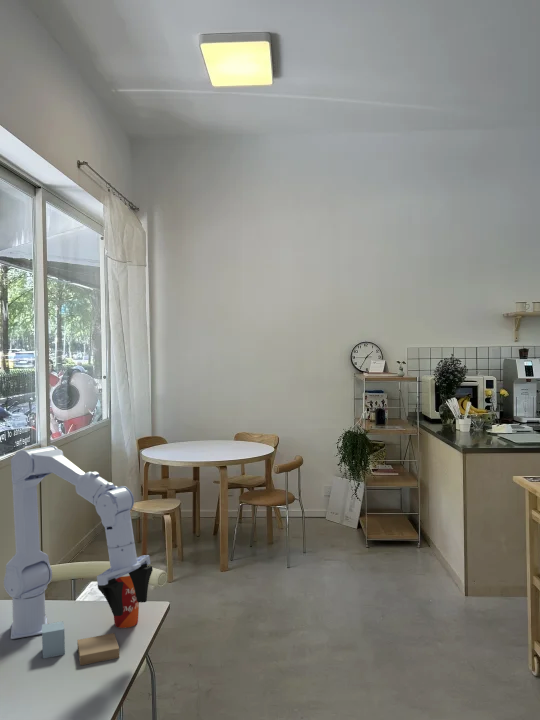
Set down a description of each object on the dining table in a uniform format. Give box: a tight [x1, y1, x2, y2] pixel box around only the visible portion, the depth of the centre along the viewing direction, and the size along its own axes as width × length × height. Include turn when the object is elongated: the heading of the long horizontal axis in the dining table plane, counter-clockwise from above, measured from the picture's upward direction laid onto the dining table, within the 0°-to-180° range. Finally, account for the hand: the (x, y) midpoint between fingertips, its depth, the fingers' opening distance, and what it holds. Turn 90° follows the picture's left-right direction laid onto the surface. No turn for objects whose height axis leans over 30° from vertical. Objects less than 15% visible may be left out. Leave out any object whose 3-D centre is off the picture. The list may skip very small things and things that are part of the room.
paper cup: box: [113, 573, 140, 629], centre depth 143 cm, size 8×8×14 cm
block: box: [41, 620, 66, 659], centre depth 130 cm, size 4×4×6 cm
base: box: [77, 632, 120, 666], centre depth 128 cm, size 8×8×2 cm
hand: (130, 608), depth 126 cm, fingers open, 7 cm apart
